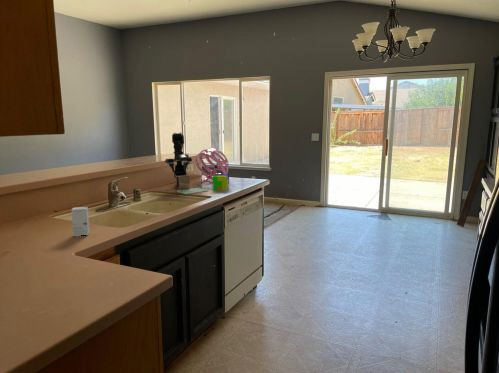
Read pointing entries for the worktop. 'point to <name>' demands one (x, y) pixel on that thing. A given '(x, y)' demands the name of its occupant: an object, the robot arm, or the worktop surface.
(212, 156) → the spiral basket
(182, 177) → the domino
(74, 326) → the worktop surface
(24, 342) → the worktop surface
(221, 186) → the puzzle toy
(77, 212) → the skincare box
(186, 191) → the mat
